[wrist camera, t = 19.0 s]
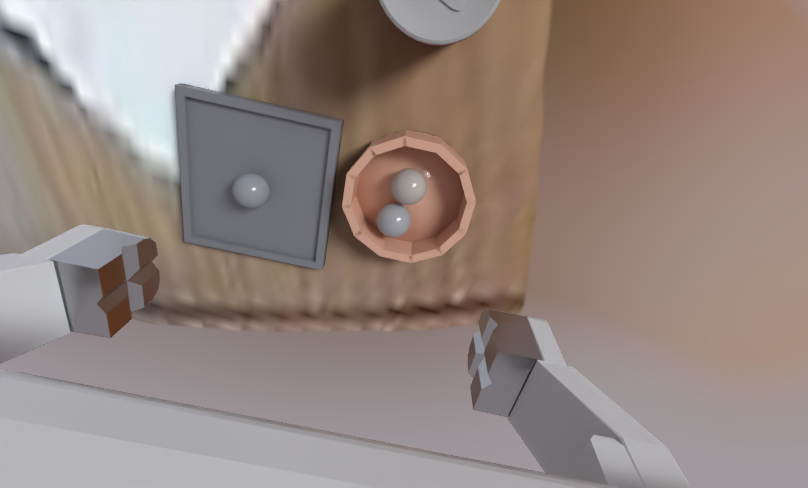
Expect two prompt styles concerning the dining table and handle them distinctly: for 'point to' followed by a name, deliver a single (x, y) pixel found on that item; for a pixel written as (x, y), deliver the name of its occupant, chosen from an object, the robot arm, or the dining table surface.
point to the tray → (264, 155)
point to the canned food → (439, 18)
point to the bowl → (430, 218)
